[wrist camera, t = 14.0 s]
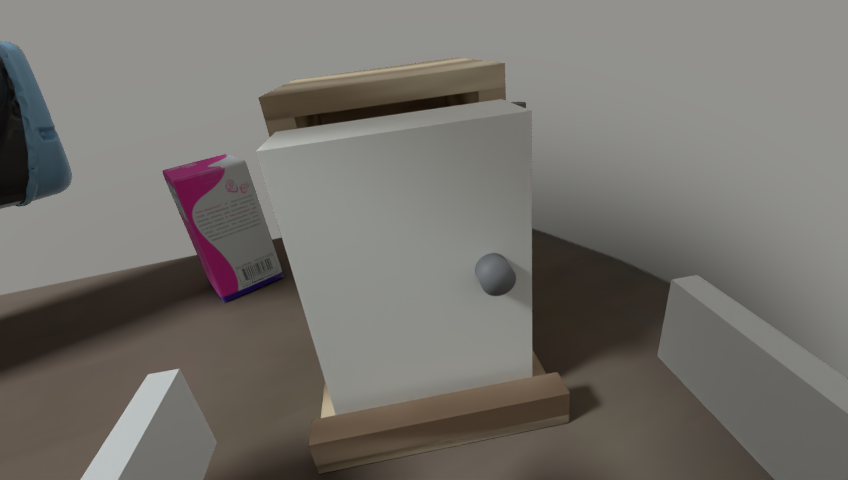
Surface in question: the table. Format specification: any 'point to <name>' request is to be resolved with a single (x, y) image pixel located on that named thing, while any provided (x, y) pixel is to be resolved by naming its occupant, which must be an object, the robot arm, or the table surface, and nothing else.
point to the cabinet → (443, 414)
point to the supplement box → (225, 224)
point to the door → (410, 248)
